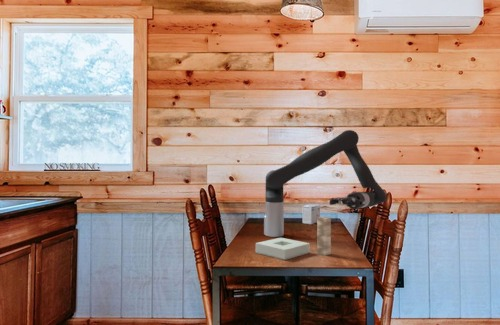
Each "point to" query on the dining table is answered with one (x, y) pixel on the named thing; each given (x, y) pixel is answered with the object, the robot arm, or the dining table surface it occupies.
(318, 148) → the robot arm
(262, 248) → the socket block
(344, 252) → the dining table surface
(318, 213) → the light bulb box
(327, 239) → the peg
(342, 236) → the dining table surface
